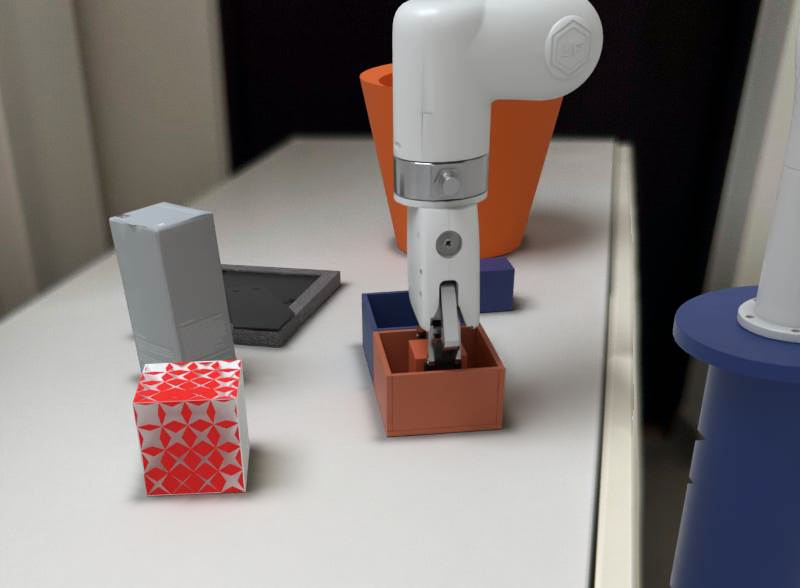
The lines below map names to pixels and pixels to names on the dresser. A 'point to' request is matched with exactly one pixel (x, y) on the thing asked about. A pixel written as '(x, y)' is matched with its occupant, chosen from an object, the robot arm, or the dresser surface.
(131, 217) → the cosmetic box
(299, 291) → the picture frame
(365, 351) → the navy bin
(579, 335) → the dresser surface
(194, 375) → the red and white cube
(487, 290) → the navy block
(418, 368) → the rust block
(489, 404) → the rust bin
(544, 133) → the flowerpot
